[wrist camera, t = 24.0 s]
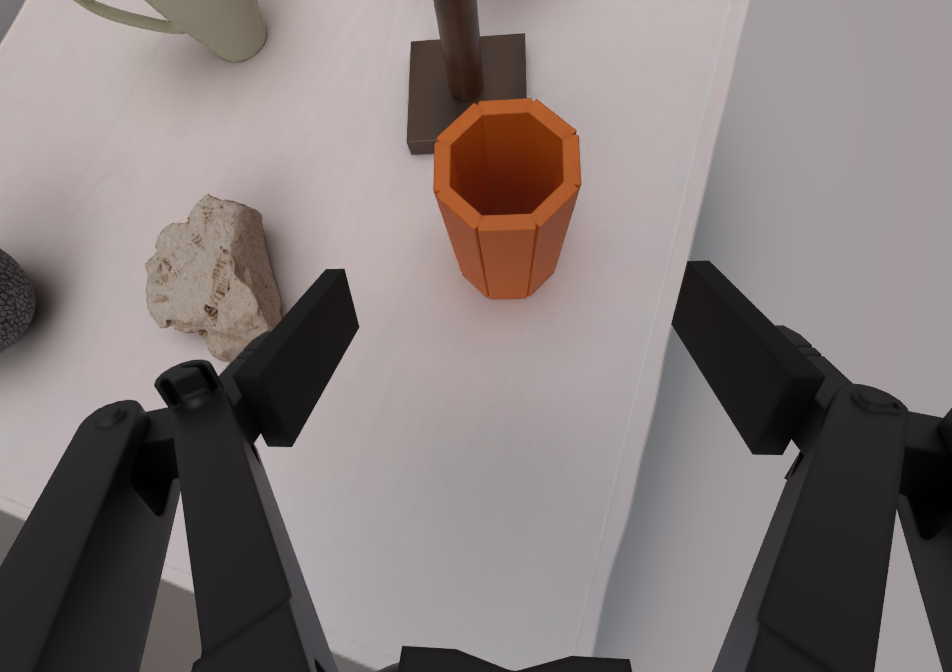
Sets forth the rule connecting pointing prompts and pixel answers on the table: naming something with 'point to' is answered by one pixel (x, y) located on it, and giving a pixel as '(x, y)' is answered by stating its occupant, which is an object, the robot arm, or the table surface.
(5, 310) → the decorative ball
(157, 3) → the mug
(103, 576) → the robot arm
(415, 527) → the table surface
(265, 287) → the stone
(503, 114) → the orange octagonal sleeve
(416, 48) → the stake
